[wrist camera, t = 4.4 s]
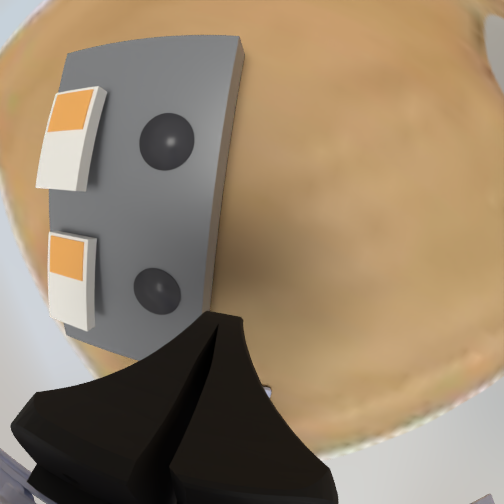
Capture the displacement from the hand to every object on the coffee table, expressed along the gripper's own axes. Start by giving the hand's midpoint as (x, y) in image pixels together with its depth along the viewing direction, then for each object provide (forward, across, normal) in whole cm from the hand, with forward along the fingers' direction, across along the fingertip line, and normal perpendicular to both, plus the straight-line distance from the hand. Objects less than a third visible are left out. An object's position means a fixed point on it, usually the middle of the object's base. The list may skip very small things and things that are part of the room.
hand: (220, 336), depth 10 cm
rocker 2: (+5, +11, +2) cm, 13 cm away
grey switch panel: (+9, +8, -2) cm, 13 cm away
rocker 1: (+5, +11, -6) cm, 14 cm away
